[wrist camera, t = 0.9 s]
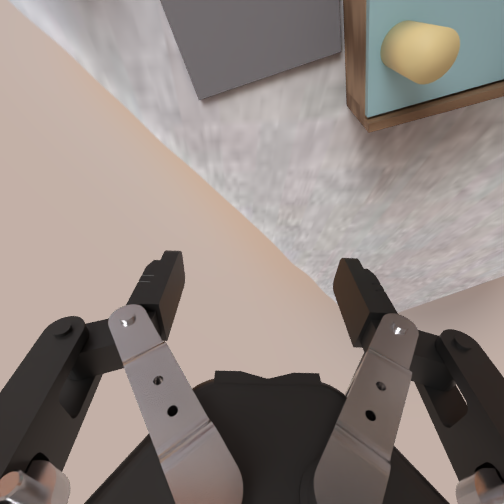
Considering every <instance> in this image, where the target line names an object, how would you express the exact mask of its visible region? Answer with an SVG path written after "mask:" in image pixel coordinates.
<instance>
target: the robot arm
mask: <svg viewBox="0 0 504 504" xmlns="http://www.w3.org/2000/svg"><path fill="white" fill-rule="evenodd" d="M184 283H185V272H184V265H183V257H182V252H181V251H165V252H164V254H163V256H162V258H161V260H154V261H152V262H151V263H150V264H149V265H148V266H147V267H146V268H145V270H144V272H143V275H142V276H141V278H140V280H139V282H138V283H137V286H136V287H135V289H134V291H133V293H132V295H131V297H130V299H129V301H128V302H127V304H126V306H123V307H121V308H119V309H117V310H116V311H114V312H113V313H112V314H111V316H110V317H109V318H108V319H105V320H101V321H97V322H92V323H87V324H85V322H84V321H83V319H81V318H80V317H76V316H70V317H65V318H61V319H59V320H57V321H55V322H53V323H52V324H50V325H49V326H48V327H47V328H46V329H45V330H44V331H43V333H42V334H41V336H40V337H39V339H38V340H37V341H36V343H35V344H34V346H33V347H32V348H31V350H30V351H29V353H28V354H27V355H26V357H25V358H24V360H23V361H22V362H21V364H20V366H19V367H18V368H17V370H16V371H15V372H14V374H13V375H12V377H11V378H10V379H9V381H8V382H7V384H6V385H5V387H4V388H3V389H2V391H1V392H0V504H67V503H68V498H69V495H70V482H69V479H68V478H67V477H66V475H65V474H64V473H62V470H63V468H64V466H65V463H66V461H67V459H68V456H69V454H70V451H71V449H72V447H73V444H74V442H75V439H76V437H77V435H78V432H79V430H80V427H81V425H82V423H83V420H84V418H85V416H86V413H87V411H88V408H89V406H90V403H91V401H92V399H93V396H94V394H95V392H96V389H97V387H98V384H99V382H100V380H101V377H102V374H104V373H107V372H111V371H114V370H118V369H122V368H125V371H126V374H127V376H128V379H129V381H130V384H131V387H132V390H133V392H134V394H135V397H136V400H137V403H138V405H139V408H140V411H141V413H142V416H143V418H144V421H145V424H146V426H147V429H148V431H149V434H148V435H147V436H146V437H145V438H144V440H143V441H142V442H141V443H140V444H139V445H138V446H137V447H136V448H135V449H134V450H133V451H132V452H131V453H130V455H129V456H128V457H127V458H126V459H125V460H124V461H123V462H122V463H121V464H120V465H119V467H118V468H117V469H116V470H115V471H114V472H113V473H112V474H111V475H110V476H109V477H108V478H107V479H106V480H105V482H104V483H103V484H102V485H101V486H100V487H99V488H98V489H97V490H96V491H95V492H94V493H93V494H92V496H91V497H90V498H89V499H88V500H87V501H86V502H85V503H84V504H449V502H447V500H446V499H445V498H444V497H443V496H442V495H441V494H440V493H439V492H438V491H437V490H436V489H435V488H434V487H433V486H432V485H431V484H430V483H429V482H428V481H427V480H426V479H425V477H424V476H423V475H422V474H421V473H420V472H419V471H418V470H417V469H416V468H415V467H414V466H413V465H412V464H411V463H410V462H409V461H408V460H407V459H406V458H405V457H404V456H403V455H402V454H401V453H400V452H399V450H398V449H397V448H396V447H395V446H394V443H395V439H396V435H397V431H398V427H399V423H400V420H401V415H402V412H403V408H404V404H405V400H406V397H407V393H408V389H409V385H410V381H414V382H415V384H416V387H417V389H418V391H419V393H420V395H421V398H422V400H423V402H424V404H425V406H426V409H427V411H428V413H429V415H430V418H431V420H432V422H433V424H434V426H435V429H436V431H437V433H438V435H439V438H440V440H441V442H442V444H443V446H444V449H445V451H446V453H447V455H448V458H449V459H450V462H451V464H452V466H453V469H454V471H455V473H456V475H457V477H458V480H459V483H458V484H457V487H456V498H457V502H458V504H504V378H503V376H502V375H501V373H500V372H499V371H498V369H497V368H496V367H495V365H494V364H493V363H492V361H491V360H490V359H489V357H488V356H487V355H486V353H485V352H484V351H483V349H482V348H481V347H480V345H479V344H478V343H477V342H476V341H475V340H474V339H472V338H471V337H470V336H468V335H467V334H465V333H462V332H460V331H457V330H452V329H448V330H445V331H443V332H442V333H441V335H440V336H437V335H434V334H430V333H426V332H423V331H420V330H418V329H417V327H416V326H415V324H414V323H413V322H412V321H410V320H409V319H408V318H406V317H404V316H402V315H399V314H398V313H397V311H396V310H395V308H394V306H393V305H392V303H391V301H390V299H389V298H388V296H387V294H386V293H385V292H384V289H383V287H382V286H381V285H380V282H379V281H378V279H377V277H376V276H375V275H374V274H373V273H372V272H371V271H370V270H368V269H363V267H362V265H361V263H360V261H359V260H358V259H355V258H342V259H341V260H340V262H339V265H338V269H337V272H336V275H335V278H334V282H333V291H334V294H335V297H336V300H337V303H338V305H339V308H340V311H341V314H342V317H343V319H344V322H345V325H346V328H347V331H348V333H349V336H350V339H351V342H352V344H353V347H362V348H363V350H364V354H363V356H362V358H361V361H360V363H359V365H358V367H357V369H356V371H355V374H354V376H353V378H352V380H351V382H350V384H349V387H348V389H347V391H346V393H345V395H344V394H343V393H342V392H340V391H339V390H337V389H335V388H334V387H332V386H330V385H328V384H325V383H322V382H321V381H320V376H319V374H317V373H315V374H314V373H291V374H287V375H283V376H278V377H274V378H270V379H266V378H262V377H259V376H255V375H252V374H248V373H245V372H241V371H215V378H214V379H211V380H208V381H206V382H203V383H201V384H199V385H197V386H196V387H194V388H193V389H192V388H191V386H190V384H189V383H188V381H187V379H186V377H185V376H184V374H183V372H182V370H181V368H180V366H179V365H178V363H177V361H176V360H175V357H174V356H173V354H172V352H171V350H170V349H169V347H168V345H167V343H166V342H165V341H167V340H168V337H169V333H170V330H171V327H172V323H173V320H174V317H175V314H176V311H177V307H178V303H179V301H180V297H181V294H182V291H183V288H184ZM163 341H164V342H163ZM456 384H457V386H458V387H459V389H460V391H461V393H462V394H463V396H464V398H465V400H466V402H467V405H466V402H465V401H464V399H463V397H462V395H461V394H460V392H459V390H458V388H457V387H456Z"/></svg>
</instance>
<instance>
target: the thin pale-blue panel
mask: <svg viewBox="0 0 504 504" xmlns="http://www.w3.org/2000/svg"><path fill="white" fill-rule="evenodd" d="M502 79H504V0H366V84H365V115H366V116H367V117H372V116H375V115H379V114H382V113H386V112H389V111H393V110H396V109H400V108H403V107H407V106H410V105H414V104H417V103H421V102H424V101H428V100H432V99H435V98H439V97H442V96H446V95H449V94H453V93H456V92H460V91H463V90H467V89H470V88H474V87H477V86H481V85H484V84H488V83H492V82H495V81H499V80H502Z"/></svg>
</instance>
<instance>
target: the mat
mask: <svg viewBox="0 0 504 504" xmlns="http://www.w3.org/2000/svg"><path fill="white" fill-rule="evenodd" d="M160 1H161V4H162V6H163V9H164V11H165V14H166V16H167V19H168V22H169V24H170V27H171V29H172V32H173V34H174V37H175V40H176V42H177V45H178V47H179V50H180V52H181V55H182V58H183V60H184V63H185V65H186V68H187V70H188V73H189V75H190V78H191V81H192V83H193V86H194V88H195V91H196V93H197V96H198V99H199V100H201V99H204V98H207V97H210V96H213V95H216V94H219V93H221V92H224V91H227V90H230V89H233V88H236V87H239V86H242V85H245V84H248V83H251V82H254V81H257V80H260V79H263V78H265V77H268V76H271V75H274V74H277V73H280V72H283V71H286V70H289V69H292V68H295V67H298V66H301V65H304V64H307V63H310V62H312V61H315V60H318V59H321V58H324V57H327V56H330V55H333V54H336V53H339V52H341V35H340V11H339V0H160Z"/></svg>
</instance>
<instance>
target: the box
mask: <svg viewBox="0 0 504 504" xmlns="http://www.w3.org/2000/svg"><path fill="white" fill-rule="evenodd" d="M343 10H344V40H345V69H346V98H347V106H348V107H349V109H350V110H351V111H352V112H353V114H354V115H355V116H356V117H357V119H358V120H359V121H360V122H361V124H362V125H363V126H364V127H365V129H366V130H367V131H368V132H369V133H370V132H373V131H377V130H381V129H384V128H388V127H392V126H395V125H399V124H403V123H406V122H410V121H414V120H417V119H421V118H425V117H428V116H432V115H436V114H439V113H443V112H447V111H451V110H454V109H458V108H462V107H465V106H469V105H473V104H476V103H480V102H484V101H487V100H491V99H495V98H498V97H502V96H504V79H502V80H499V81H495V82H492V83H488V84H484V85H481V86H477V87H474V88H470V89H467V90H463V91H460V92H456V93H453V94H449V95H446V96H442V97H439V98H435V99H432V100H428V101H424V102H421V103H417V104H414V105H410V106H407V107H403V108H400V109H396V110H393V111H389V112H386V113H382V114H379V115H375V116H372V117H367V116H366V115H365V84H366V0H343Z"/></svg>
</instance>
